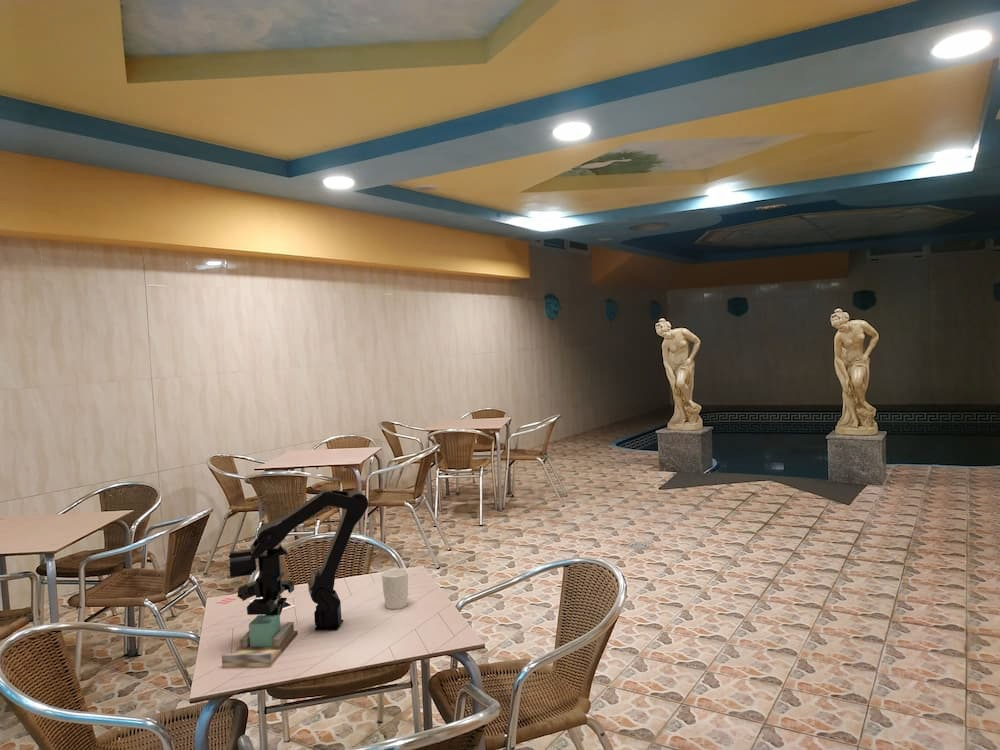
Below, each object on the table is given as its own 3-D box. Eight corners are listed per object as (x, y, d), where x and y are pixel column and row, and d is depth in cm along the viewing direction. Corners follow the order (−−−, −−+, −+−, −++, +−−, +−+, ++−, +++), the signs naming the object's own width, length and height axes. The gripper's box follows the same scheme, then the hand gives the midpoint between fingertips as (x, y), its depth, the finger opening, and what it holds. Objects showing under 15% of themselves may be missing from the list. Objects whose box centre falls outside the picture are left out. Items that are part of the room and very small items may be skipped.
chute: (297, 634, 192) (297, 622, 192) (270, 666, 173) (269, 653, 173) (254, 634, 193) (253, 622, 193) (222, 667, 174) (221, 653, 174)
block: (281, 636, 189) (279, 614, 188) (272, 646, 183) (271, 623, 182) (259, 637, 189) (258, 615, 189) (250, 646, 183) (248, 624, 183)
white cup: (415, 602, 212) (413, 570, 212) (397, 611, 205) (396, 578, 205) (395, 598, 216) (393, 567, 216) (377, 607, 210) (376, 574, 209)
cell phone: (271, 595, 225) (271, 593, 225) (295, 607, 214) (295, 605, 214) (248, 602, 220) (248, 600, 220) (272, 615, 208) (271, 613, 208)
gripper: (255, 561, 201) (258, 614, 201) (225, 584, 182) (229, 642, 183) (293, 560, 200) (296, 614, 201) (267, 583, 181) (270, 642, 182)
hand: (273, 627), depth 191 cm, fingers closed
